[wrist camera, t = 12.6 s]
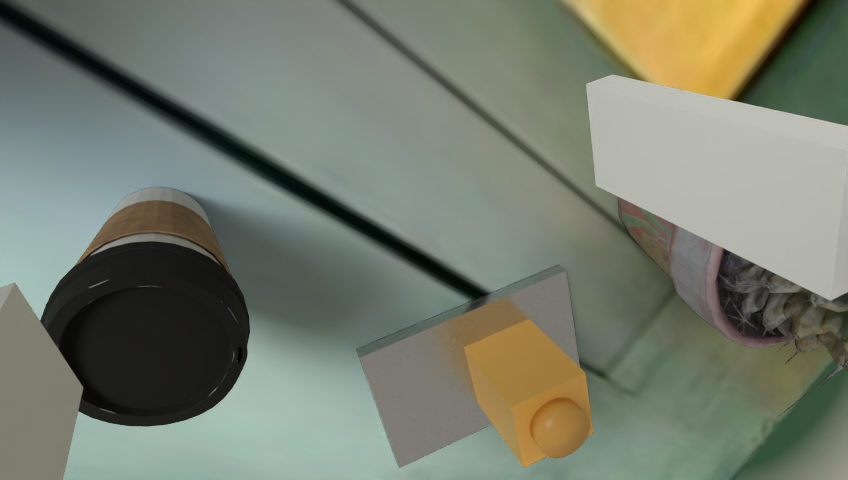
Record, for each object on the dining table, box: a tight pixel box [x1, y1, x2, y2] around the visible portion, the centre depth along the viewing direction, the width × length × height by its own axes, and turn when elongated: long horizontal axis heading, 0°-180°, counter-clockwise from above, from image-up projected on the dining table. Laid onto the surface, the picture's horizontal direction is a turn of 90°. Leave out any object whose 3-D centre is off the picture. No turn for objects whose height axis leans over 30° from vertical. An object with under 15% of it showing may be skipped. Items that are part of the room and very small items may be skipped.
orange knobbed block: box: [464, 319, 594, 468], centre depth 46 cm, size 6×6×10 cm
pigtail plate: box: [356, 265, 580, 468], centre depth 48 cm, size 18×12×6 cm, turn 104°
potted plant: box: [618, 197, 848, 416], centre depth 40 cm, size 18×20×25 cm
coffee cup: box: [40, 187, 250, 426], centre depth 31 cm, size 8×8×15 cm
